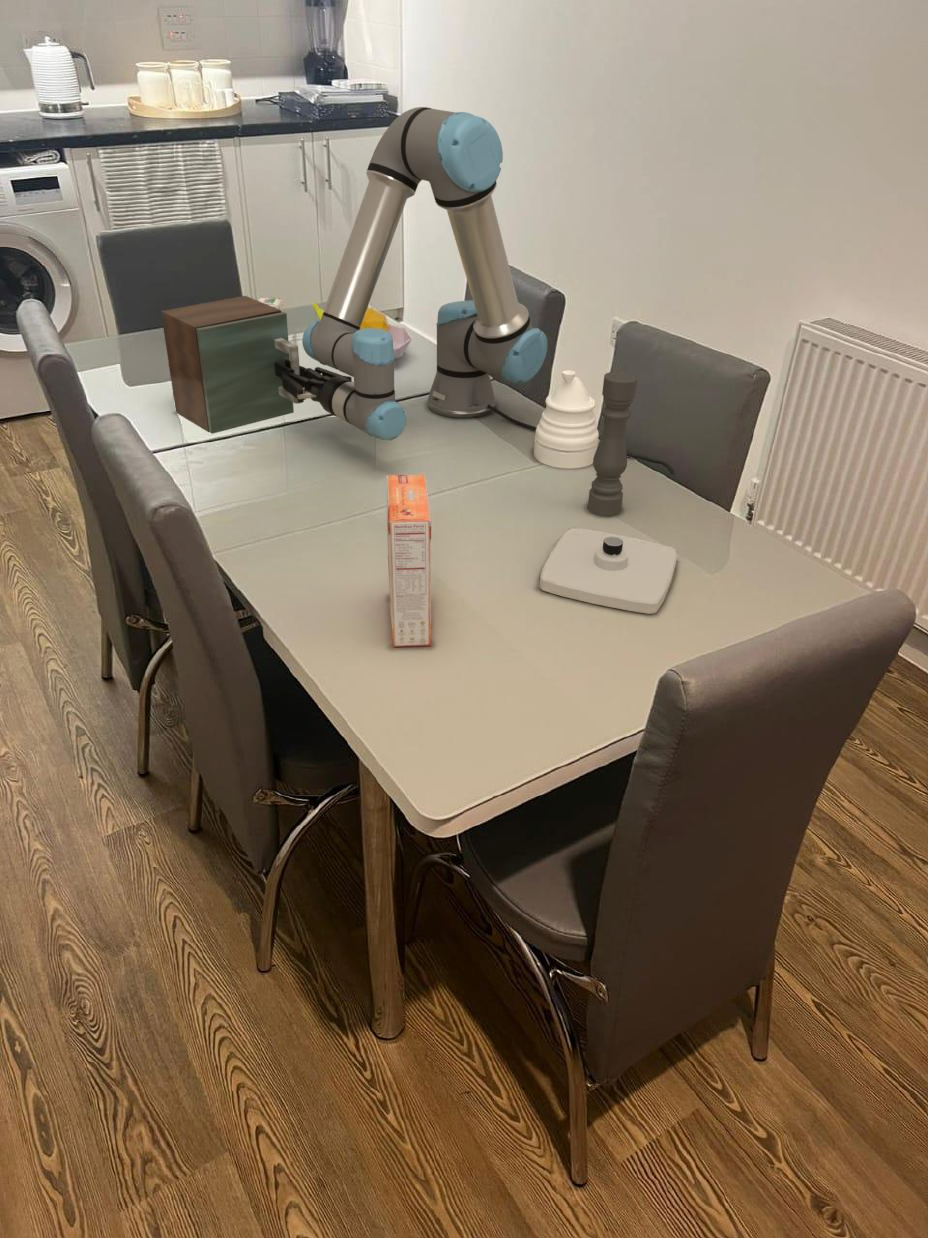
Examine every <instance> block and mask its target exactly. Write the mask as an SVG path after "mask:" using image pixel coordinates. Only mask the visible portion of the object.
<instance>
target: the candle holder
mask: <svg viewBox="0 0 928 1238" xmlns="http://www.w3.org/2000/svg"><path fill="white" fill-rule="evenodd" d="M637 384H638V376H636V374H633V373H631V372H626V371H618V370H617V371H609V372H606V373H605V374H604V375H603V384H602V391H601V392H602V393H601V395H602V396H603V397H602V398H603V399H602V400H603V401H604V405H605V406H603V408H601V416H603V419H604V420H603V427H602V434H601V437H600V439H599V441H598V445H597V450H596V452H595V455H594V458H593V463H592V467H593V469H594V471H595V476H596V477H595V478H594V480H592V481H591V488H590V489H589V490H588V491H589V492H588V500H587V510H588V511H589V512H590V513H591V514H592V515H595V516H599V517H603V518H604V517H605V518H610V517H615V516H618V515H619V514H621V513H622V505H623V498H624V492H623V488H624V487H623V483H622V481H621V480H620V479H621V478H622V475H623V473H625V471H626V470H627V468H628V456H627V455H626V452H627V447H626V446H627V445H626V437H625V434H626V427H627V421H628V420H629V419H630V418H631V417H632V410H631V409H630V406H631V404H632V403H634V399H635V398H636V392H637Z"/></svg>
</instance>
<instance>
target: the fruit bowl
mask: <svg viewBox="0 0 928 1238" xmlns="http://www.w3.org/2000/svg"><path fill="white" fill-rule="evenodd" d="M311 306H312V307H313V309H314V310H315V314H316V315H317V318H318V321H320V320H321V317H322V315H323V312H324V308H323V309H322V308H320V306H319V305H318V304H317V302H313V303H311ZM366 328H376V329H383V330H386V331H388V332H389V333H390V334H391V335H392V337H393V348H394V354H395V358H394V360H397V359H398V358H401V357H402V356H403V354H404V353H405V351H406V349H407V348H408V346H409V345H410V343H411V342H412V340H413V337H412V336H411V335H410V333H409V332H408V331H407V330H406V328H404V327H402V326H401V327H400V326H397V325H394V324H389V322H388V319H387V315H385V314H384V313H382V312H381V311H379V310H377V309H376V308H374V307H367V310H366V313H365V316H364V318H363V321H362V324H361V327H360V330H361V329H366Z"/></svg>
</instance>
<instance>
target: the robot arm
mask: <svg viewBox="0 0 928 1238" xmlns="http://www.w3.org/2000/svg"><path fill="white" fill-rule="evenodd" d="M503 155H504V152H503V145H502V142H501V139H500V136H499V134H498V131H497V130H496V128H495V127H494V126H493V125H492V123H491V122H489V121H488V120H487V119H485V118H484V117H481V116H478V115H474V114H473V113H470V112H465V111H456V112H455V111H449V110H444V109H443V110H442V109H436V108H431V107H428V106H419V107H417V106H416V107H414V108H410V109H407V110H406V111H404V112H402V113H401V114H399V116H398V117H396V118H395V119H394V120H393V121H392V122H391V124H389V125H388V127H387V128H386V129H385V131H384V133H382V136H381V138H380V139H379V141H378V143H377V144H376V147H375V149H374V150H373V153H372V156H371V158H370V161H369V164H368V166H367V169H366V172H365V173H366V177H367V179H368V183H367V185H366V189H365V191H364V194H363V197H362V201H361V203H360V206H359V209H358V212H357V214H356V217H355V220H354V223H353V226H352V229H351V232H350V235H349V238H348V240H347V243H346V246H345V248H344V252H343V255H342V257H341V261H340V263H339V266H338V269H337V272H336V275H335V277H334V280H333V283H332V286H331V289H330V291H329V295H328V297H327V301H326V303H325V306H324V308H323V310H324V312H323V315H322V317H321V320H315V321H312V322H311V323H309V325H308V326H307V327H306V328H305V329H304V332H303V334H302V341H301V342H302V346H303V347H302V348H303V351H304V352H305V353H306V355H307V356H308V357H309V358H311V359H313V360H314V361H317V362H318V363H319V364H321V365H323V366H327V367H329V368H332V369H335V370H336V371H337V370H338V372H341V373H343V374H345V375H343V374H339V373H337V372H334V371H331V370H328V369H325V368H323V367H321V366H316V367H314V369H313V368H311V367H308V368H307V367H305V366H302V365H299V367H300V375H297V374H295V373H294V370H293V369H291V364H290V361H289V360H285V366H284V365H282V364H280V363H278V362H276V363H274V364H275V375H276V376H278V377H280V379H282V383H283V388H284V389H285V390H286V391H288V392H289V393H290V394H292V395H293V396H294V397H295V398H297V401H298V402H299V404H302V403H304V401H306V400H307V399H310V400H311V401H313V402H317V403H319V404H320V406H321V407H322V409H323V410H324V411H325V412H327V413H329V414H330V415H332V416H334V417H336V418H338V419H341V420H343V421H345V422H346V423H348V424H349V425H352V426H353V427H355V428H357V429H358V430H360V431H362V432H364V433H366V434H367V435H369V436H370V437H374V438H376V439H378V440H381V441H388V442H389V441H392V440H394V439H396V438H398V437H399V436H400V435H401V434H402V433H403V432H404V430H405V427H406V424H407V421H408V420H407V419H408V417H407V416H408V415H407V412H406V410H405V408H404V407H403V406H402V405H401V404H400V403H399V402H398V401H396V391H395V359H394V358H395V354H394V348H393V337H392V335H391V334H390V333H389V332H388V331H386V330H383V329H376V328H366V329H361V330H360V327H361V324H362V321H363V318H364V316H365V313H366V310H367V309H368V308H369V304H370V302H371V299H372V296H373V294H374V291H375V288H376V285H377V283H378V280H379V278H380V274H381V272H382V269H383V266H384V263H385V261H386V258H387V256H388V253H389V249H390V246H391V245H392V241H393V238H394V235H395V233H396V230H397V228H398V225H399V222H400V219H401V217H402V214H403V211H404V208H405V206H406V203H407V200H408V199H409V198H412V197H413V196H415V194H416V192H417V189H418V186H419V184H420V183H421V182H422V181H426V182H428V183H429V185H430V188H431V192H432V195H433V198H434V201H435V204H436V205H437V206H438V207H439V208H441V209H444V210H446V212H447V216H448V219H449V223H450V227H451V230H452V232H453V236H454V240H455V243H456V247H457V251H458V254H459V258H460V260H461V264H462V267H463V270H464V274H465V277H466V281H467V285H468V288H469V291H470V295H471V298H472V300H470V299H469V300H459V301H452V302H448V303H445V304H443V305H442V306H440V307H439V309H438V311H437V320H436V321H437V322H436V373H435V375H434V379H433V382H432V385H431V387H430V390H429V394H428V397H427V406H428V408H429V410H431V411H432V412H433V413H435V414H437V415H440V416H443V417H448V418H452V419H454V418H455V419H473V418H480V417H484V416H487V415H489V414H491V413H493V412H494V413H496V414H497V415H499V416H500V417H502V418H504V419H505V420H507V421H509V422H510V423H513V424H516V425H518V426H521V427H523V428H527V429H529V430H532V431H536V428H537V426H534V425H532V424H528V423H526V422H522V421H519V420H517V419H515V418H513V417H511V416H509V415H507V414H505V412H502V411H501V410H499V409H498V408H496V396H495V393H494V389H493V385H492V382H491V378H490V375H491V376H493V377H496V378H497V379H501V380H503V381H505V382H511V383H515V384H524V383H527V382H529V381H530V380H531V379H533V378H534V377H535V376H536V375H537V374H538V372H539V371H540V370H541V368H542V365H543V364H544V361H545V360H546V357H547V352H548V338H547V335H546V333H544V331H543V330H541V329H539V328H538V327H534V326H533V325H532V321H531V317H530V313H529V310H528V308H527V307H526V306H525V305H524V304H522V303H520V302H519V300H518V297H517V292H516V288H515V285H514V280H513V276H512V272H511V269H510V265H509V260H508V255H507V252H506V250H505V249H506V248H505V244H504V240H503V236H502V232H501V229H500V224H499V221H498V217H497V212H496V208H495V204H494V201H493V196H492V195H493V193H494V192H495V190H496V188H497V185H498V183H497V180H498V178H499V176H500V173H501V171H502V167H501V166H500V165H501V163H503V159H504V156H503ZM348 375H349V376H348ZM352 379H353V381H352ZM626 455H627V457H629V458H633V459H634V458H635V459H639V460H643V461H647V462H649V463H654V464H659V465H662V466H664V467H665V468H666V469H667V470H668V471H669V473H670V474H671V475H672V476H676V475H677V473H676V472H675V469H674V468H673V467H672V466H671V465H670V464H669V463H668V462H667V461H665V460H662V459H657V458H652V457H649V456H646V455H642V454H637V453H633V452H627V451H626Z"/></svg>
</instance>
